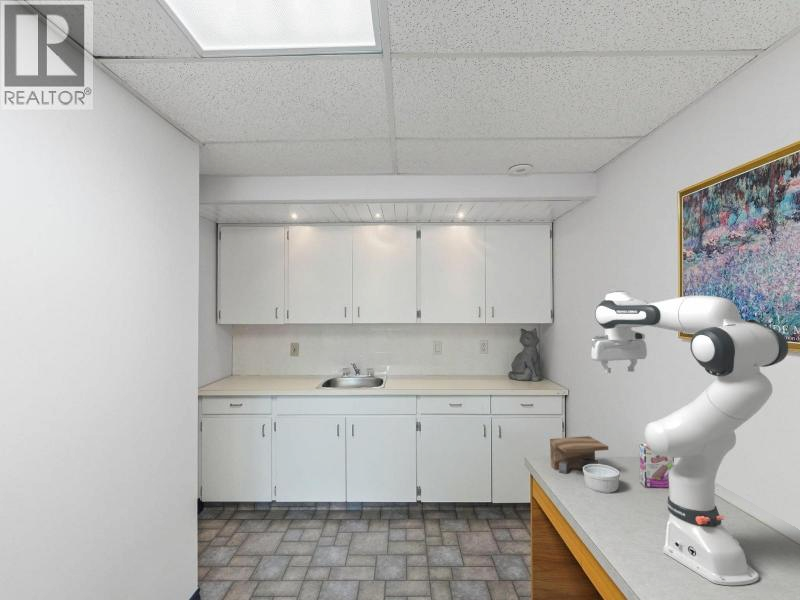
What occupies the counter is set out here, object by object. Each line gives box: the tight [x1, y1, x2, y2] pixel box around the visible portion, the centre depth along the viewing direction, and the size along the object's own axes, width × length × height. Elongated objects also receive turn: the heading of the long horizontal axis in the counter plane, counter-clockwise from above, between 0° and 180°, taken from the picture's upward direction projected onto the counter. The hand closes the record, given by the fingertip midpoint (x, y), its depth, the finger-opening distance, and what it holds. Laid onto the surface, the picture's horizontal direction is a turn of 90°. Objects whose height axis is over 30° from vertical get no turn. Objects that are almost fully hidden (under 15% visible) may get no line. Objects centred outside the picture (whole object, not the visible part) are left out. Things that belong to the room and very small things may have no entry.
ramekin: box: [582, 463, 620, 494], centre depth 163 cm, size 13×13×7 cm
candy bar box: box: [638, 442, 675, 489], centre depth 163 cm, size 11×5×16 cm, turn 84°
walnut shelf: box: [549, 435, 609, 475], centre depth 179 cm, size 14×19×12 cm
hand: (619, 372), depth 152 cm, fingers open, 8 cm apart
